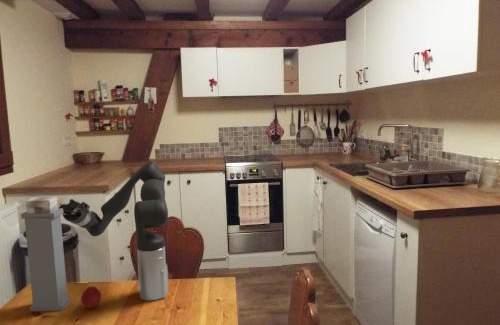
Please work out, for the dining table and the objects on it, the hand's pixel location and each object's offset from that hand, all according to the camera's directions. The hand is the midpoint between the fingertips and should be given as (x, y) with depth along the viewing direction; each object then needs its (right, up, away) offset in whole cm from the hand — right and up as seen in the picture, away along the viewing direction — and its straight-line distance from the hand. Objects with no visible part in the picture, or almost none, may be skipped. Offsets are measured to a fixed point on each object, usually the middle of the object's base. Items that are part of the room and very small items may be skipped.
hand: (58, 202), depth 125 cm
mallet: (0, -1, -6) cm, 6 cm away
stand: (+1, -33, -6) cm, 34 cm away
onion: (+15, -34, -7) cm, 37 cm away
